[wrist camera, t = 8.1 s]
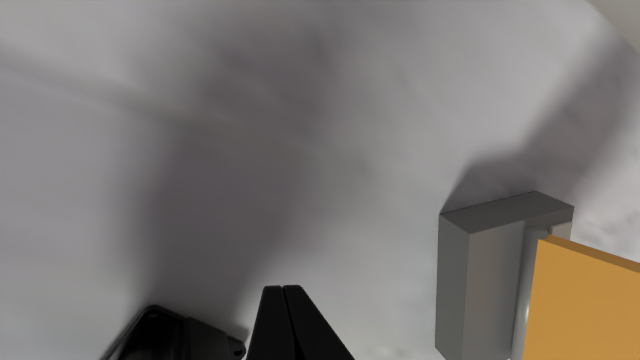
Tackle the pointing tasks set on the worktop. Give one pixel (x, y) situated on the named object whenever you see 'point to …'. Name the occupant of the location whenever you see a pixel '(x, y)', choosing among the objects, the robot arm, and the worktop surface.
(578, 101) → the worktop surface
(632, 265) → the orange square tile
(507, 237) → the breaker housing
